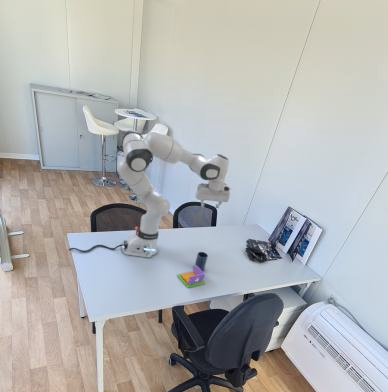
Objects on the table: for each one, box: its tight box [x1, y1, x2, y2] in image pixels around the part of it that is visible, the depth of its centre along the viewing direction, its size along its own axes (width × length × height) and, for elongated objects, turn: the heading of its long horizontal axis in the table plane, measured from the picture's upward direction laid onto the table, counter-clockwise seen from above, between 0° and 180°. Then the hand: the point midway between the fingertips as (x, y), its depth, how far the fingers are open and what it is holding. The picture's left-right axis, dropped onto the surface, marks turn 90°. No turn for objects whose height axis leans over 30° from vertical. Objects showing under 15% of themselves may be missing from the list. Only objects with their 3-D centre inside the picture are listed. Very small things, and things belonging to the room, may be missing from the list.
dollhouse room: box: [177, 264, 205, 288], centre depth 168 cm, size 12×12×7 cm
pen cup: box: [194, 251, 209, 272], centre depth 178 cm, size 6×6×10 cm
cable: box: [245, 246, 268, 263], centre depth 207 cm, size 17×14×4 cm
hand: (209, 207), depth 174 cm, fingers open, 8 cm apart
